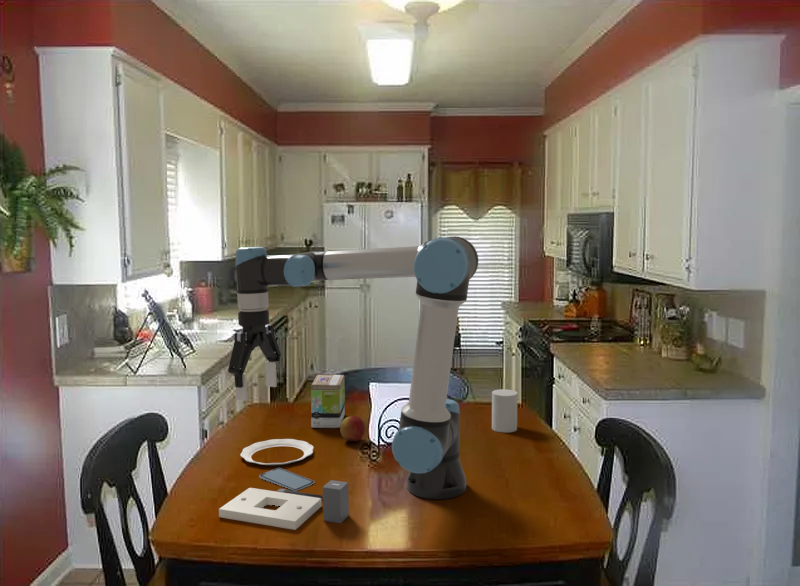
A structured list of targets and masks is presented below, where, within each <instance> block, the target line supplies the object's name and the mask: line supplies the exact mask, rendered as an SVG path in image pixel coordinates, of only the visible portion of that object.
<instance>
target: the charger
mask: <svg viewBox="0 0 800 586" xmlns="http://www.w3.org/2000/svg"><path fill="white" fill-rule="evenodd" d="M322 496H323V498H322V503H323V504H322V512H323V513H322V514H323V515H322V516H323V517H322V518H323V519H322V520H323V521H324V522H330V523H334V524H335V523H337V524H342V523H343V522H344V521H345V520H346V519H347V518H348V517H349V516H350V513H349V512H350V506H349V498H350V497H349V482H347V481H340V480H334V479H330V480H329V481H328V482H327V483H326V484H324V485H323V487H322Z"/></svg>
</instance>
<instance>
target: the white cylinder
mask: <svg viewBox="0 0 800 586" xmlns="http://www.w3.org/2000/svg"><path fill="white" fill-rule="evenodd" d="M491 430H492V431H494V432H497V433H504V434H505V433H513V432H517V430H518V391H516V390H512V389H503V388H502V389H500V388H499V389H494V390H492V392H491Z"/></svg>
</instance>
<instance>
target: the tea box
mask: <svg viewBox="0 0 800 586" xmlns="http://www.w3.org/2000/svg"><path fill="white" fill-rule="evenodd" d="M310 386H311V387H310V388H311V389H310V390H311V391H310V392H311V393H310V394H311V395H310V397H311V398H310V405H311V406H310V407H311V409H310V414H311V415H310V418H311V419H310V422H311V423H310V424H311V425H310V427H311V428H317V429H337V428H339V429H340V426H341V423H342V421H343V420H344V417H345V411H346V410H345V407H346V403H345V402H346V401H345V399H346V398H345V397H346V396H345V393H346V391H345V388H346V387H345V386H346V384H345V375H344V374H317V375H316V376H315V378H314V380H313V382H312V383H311V385H310Z"/></svg>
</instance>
